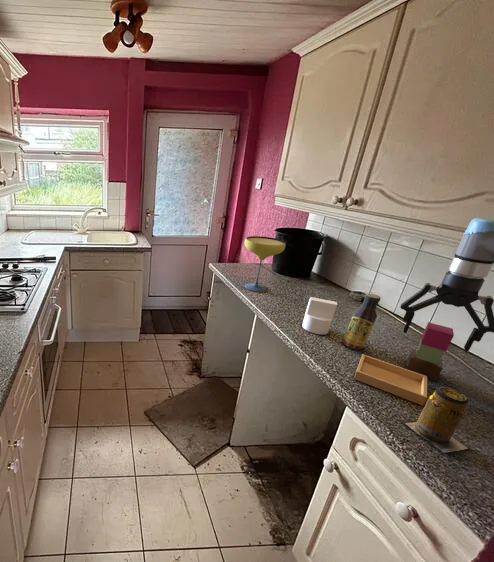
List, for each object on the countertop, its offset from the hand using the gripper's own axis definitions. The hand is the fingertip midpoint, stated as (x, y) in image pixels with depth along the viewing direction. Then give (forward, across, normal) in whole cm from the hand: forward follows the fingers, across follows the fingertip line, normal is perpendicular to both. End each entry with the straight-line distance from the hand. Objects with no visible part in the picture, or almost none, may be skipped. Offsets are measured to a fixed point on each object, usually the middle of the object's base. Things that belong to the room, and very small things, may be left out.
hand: (434, 339), depth 94 cm
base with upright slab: (+12, +31, -6) cm, 33 cm away
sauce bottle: (+12, +18, -2) cm, 21 cm away
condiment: (+12, -3, +32) cm, 34 cm away
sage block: (+6, 0, 0) cm, 6 cm away
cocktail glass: (+12, +64, -31) cm, 72 cm away
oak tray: (+11, +7, +14) cm, 19 cm away
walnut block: (+11, 0, 0) cm, 11 cm away
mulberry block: (+1, 0, 0) cm, 1 cm away
